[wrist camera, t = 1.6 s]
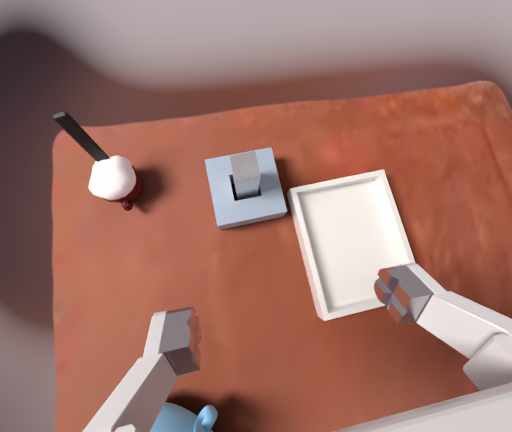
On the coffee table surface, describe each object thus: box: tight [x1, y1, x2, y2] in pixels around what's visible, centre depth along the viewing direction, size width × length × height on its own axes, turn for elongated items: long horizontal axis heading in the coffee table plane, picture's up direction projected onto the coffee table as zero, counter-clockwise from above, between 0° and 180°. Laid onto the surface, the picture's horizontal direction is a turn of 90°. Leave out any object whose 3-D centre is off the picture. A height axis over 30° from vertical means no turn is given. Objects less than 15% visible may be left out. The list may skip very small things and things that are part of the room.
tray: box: [287, 170, 415, 321], centre depth 34 cm, size 15×19×3 cm
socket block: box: [205, 148, 287, 230], centre depth 34 cm, size 10×10×4 cm
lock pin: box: [230, 151, 261, 200], centre depth 31 cm, size 3×3×11 cm
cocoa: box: [52, 112, 142, 211], centre depth 30 cm, size 10×6×12 cm, turn 0°
